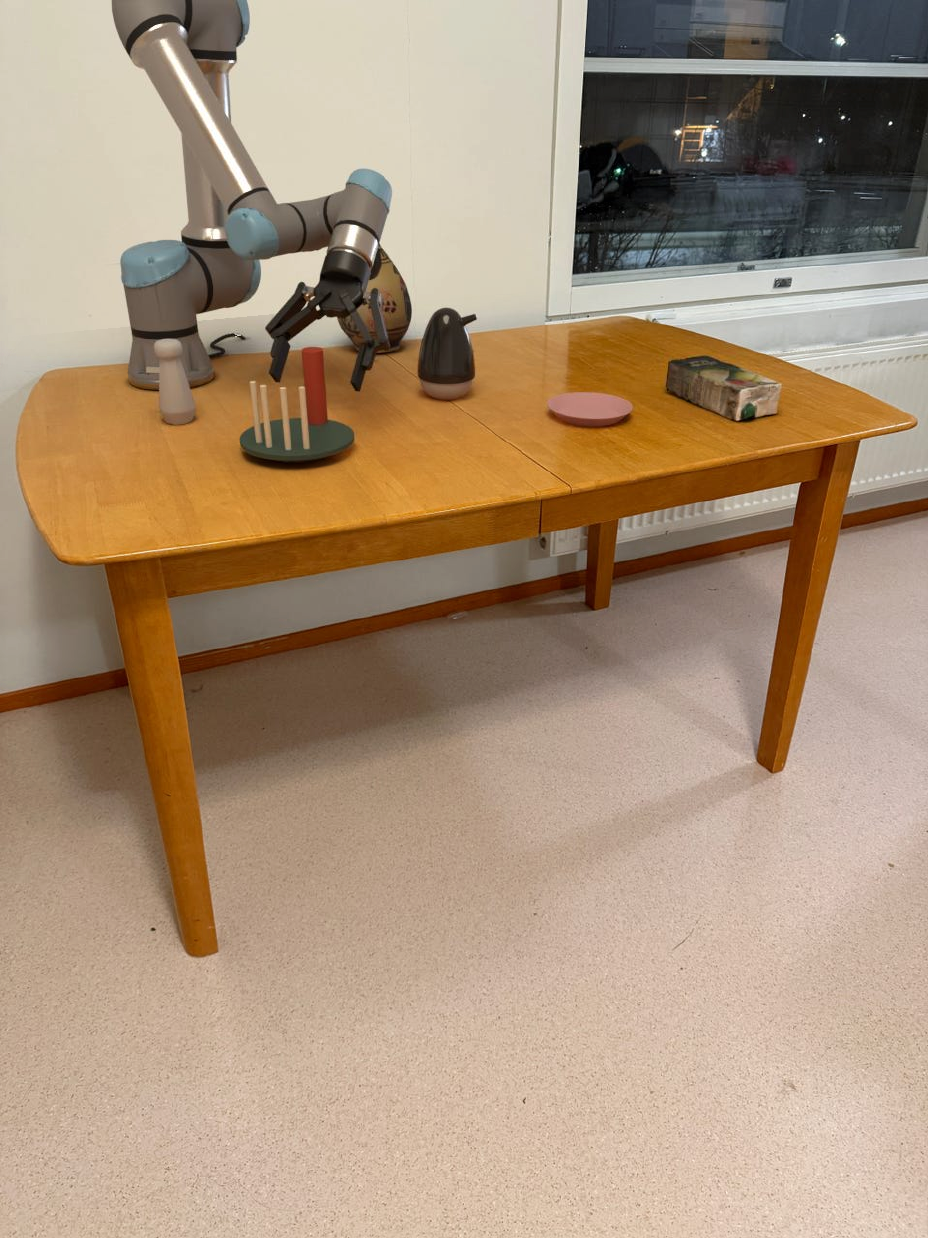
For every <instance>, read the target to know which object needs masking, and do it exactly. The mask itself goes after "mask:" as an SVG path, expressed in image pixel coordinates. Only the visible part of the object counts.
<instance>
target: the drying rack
mask: <svg viewBox="0 0 928 1238" xmlns="http://www.w3.org/2000/svg"><path fill="white" fill-rule="evenodd" d="M324 358H325V357H324V348H322V347H319V346H307V347H303V348H301V361H302V374H303V375H302V376H303V385H304V386H303V385H302V386H298V399H299V411H300V417H290V416H289V404H288V393H287V387H285V386H281V387H279V398H280V407H281V418H280V419H274V420H270V419H271V418H270V407H269V400H268V391H267V390H268V388H267V384H260V385H259V391H260V401H261V402H260V403H261V410H262V411H261V412H262V421H263V422H262V423H261V416H260V407H259V406H260V405H259V397H258V388H257V387H258V386H257V381H255V380H251V381H249V389H250V390H249V391H250V399H251V408H252V409H251V410H252V416H253V426H250V427H249V428H247V429H245V430H244V431H243V432H242V433H241V434H240V436H239V445H240V448H241V450H243V451H244V452H245V453H247V454H249V455H251V456H253V457H256V458H259V459H264V460H272V461H276V460H281V461H300V460H311V459H318V458H321V459H323V458H328V457H330V456H335V455H337V454H339V453H342V452H344V451H346V450H348V449H350V447H352V445H353V444H354V442H355V431H354V430H353V429H352V428H351V427H350V426H348V425H347V424H345V423H342V422H340V421H336V420H332V419H328V418H329V417H328V405H327V404H328V403H327V390H326V389H327V388H326V374H325V359H324ZM289 417H290V418H289ZM318 460H319V459H318ZM281 461H280V462H281Z"/></svg>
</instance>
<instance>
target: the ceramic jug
mask: <svg viewBox="0 0 928 1238" xmlns="http://www.w3.org/2000/svg"><path fill="white" fill-rule="evenodd" d="M373 288H377V289H378V291H379V293H380V295H381V297H382V299H383V302H382V308H381V311H382V315H383V319H384V323H385V327H386V331H387V336H388V340H389V344H390V349H389V350H388V351H384V350H380V351H378V352H377V353H376V354H380V353H389V352H390V353H391V352H396V351H398V350H400V348H401V341H402V340H403V338H404V337H405V336H406V334H407V332H408V331H409V328H410V325H411V321H412V316H413V308H412V307H413V306H412V301H411V296H410V294H409V290H408V287H407V284H406V282H405V280H404V278H403V276H402V275H401V273H400V271H399V270H398V267H397V265H396V264H394V262H393V261H392V259H391V257H390V255H388V253H387V252H386V251H385V250H384V249H383V247H382V245H381V244H380V242H379V245H378V249H377V252H376V256H375V260H374V263H373V267H372V269H371V274H370V278H369V282H368V285H367V289H366V291H365V292H371V290H372V289H373ZM357 311H358V313H359V315H360V317H361V319H362V320H363V322H364V324H365V326H366V327H367V329H368V331H369V333H370V334H371V336H372V338H373V339H378V337H377V332H376V328H375V324H374V320H373V316H372V312H371V307H370V306H369V305H368V303H367V301H365V302H364V303H363V304H362V305H361V306H360V307H359V308H358V309H357ZM336 319H337V322H338V324H339V326H340V329H341V330H342V331H343V333H344V334H345V335H346V336H347V337H348V338H349V340H350V341H351V342H352V345H353V346H354V348H355V350H356V352H357V351H358V352H359V348H360V345H361V344H364V345H366V346H367V344H366V342H365V340H364V338H363V337H362V335H361V333H360V331H359V329H358V328H357V326H356V324H355V322H354V321H353V319H352V317H351V315H350V316H348V317H345V319H341V318H338V317H336Z"/></svg>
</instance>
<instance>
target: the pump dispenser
mask: <svg viewBox="0 0 928 1238" xmlns="http://www.w3.org/2000/svg"><path fill="white" fill-rule="evenodd" d="M477 319H478V315H477V314H476V313H473V314H469V315H465V316H461V315H460V313H459V312H458V311H457V310H455V309H454V308H451V307H441V308H438V309H437V310H436V311H434V312H433V313H432V315H431V317H430V318H429V321H428V323H427V324H426V327H425V330H424V334H423V336H422V338H421V343H420V347H419V352H418V360H417V372H416V373H417V377H418V379H419V382H420V385H421V388H422V389H423V390H424V391H423V392H425V393H426V394H427V395H428V396H430V397H432V398H434V399H437V400H443V401H450V400H456V399H459V398H461V397H463V396H465V395H466V394H467V393H468V392H469V390H470V389H471V387H472V385H473V382H474V379H475V378H476V364H475V355H474V349H473V344H472V341H471V336H470V333H469V330H468V328H467V326H466V325H468V324H471V323H473V322H475V321H477Z"/></svg>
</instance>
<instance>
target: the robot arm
mask: <svg viewBox="0 0 928 1238" xmlns="http://www.w3.org/2000/svg"><path fill="white" fill-rule="evenodd" d="M111 12H112V18H113V23H114V26H115V30H116V32H117V35H118V38H119V40H120V43H121V44H122V47H123V48H124V50H125V51H126V53H127V56H128V57H129V59H130V60H131V62H132V63H133V65H134V66H135V67H137V68H138V69H142V70H144V71H145V73H146V75H147V77H148V78H149V80H150V81H151V84H152V85H153V87H154V88H155V91H156V92H157V95H159V97H160V99H161V101H162V103H163V104H164V106H165V107H166V109H167V111H168V112H169V114H170V116H171V118H172V119H173V122H174V123H175V125H176V126H177V128H178V130H179V132H180V135H181V145H182V146H181V147H182V157H183V158H182V159H183V170H184V183H185V184H184V185H185V195H186V207H187V218H188V219H187V220H188V221H187V223H186V225H185V226H184V227H182V229H181V230H180V236H181V237H180V238H181V240H177V239H158V240H155V241H146V242H142V243H138V244H136V245H135V244H134V245H133V246H130V247H129V248H127V249H125V250H124V251H123V252H122V254H121V255H120V259H119V260H120V261H119V263H120V272H121V275H120V280H121V283H122V284H123V291H124V296H125V302H126V307H127V315H128V320H129V326H130V332H131V339H132V341H131V348H130V355H129V361H128V367H127V376H128V382H129V384H130V385H131V386H134V387H136V388H139V389H143V390H151V391H159V366H160V357H157V356H156V355H155V351H154V344H155V342H156V341H158V340H161V339H176V340H178V341H180V342H181V345H182V349H183V353H182V355H180V359H181V362H182V366H183V369H184V372H185V375H186V378H187V381H188V384H189V387H190V388H194V387H198V386H202V385H205V384H207V383H209V382H211V381H212V380H214V378H215V370H214V365H213V362H212V360H211V359H214V358H219V357H221V356H223V355H225V354H226V352H227V350H226V349H225V348H224V347H222V346H218V345H217V344H218V343H220V342H222V341H224V340H226V339H229V338H230V339H231V338H238V339H240V340H241V341H245V340H246V337H245V336H244V335H242V334H241V336H237V335H235V334H234V333H235V332H231V334H230V333H227V334H224V335H221V336H219V337H216V338H215V339H214V340H212V341H211V342H210V343H209V347H210V348H211V349H212V350H216V351H217V352H215V353H210V354H208V352H207V349H206V347H205V345H204V343H203V340H202V339H201V336H200V333H199V327H198V318H197V315H200V314H204V313H210V312H213V311H217V310H222V309H230V308H234V307H237V306H239V305H241V304H244V303H247V302H248V301H249V300H251V299H252V298H253V297H254V296H255V294H256V293H257V292H258V289H259V287H260V284H261V278H262V267H261V260H263V261H265V260H269V259H272V258H275V257H280V256H283V255H290V254H297V253H308V252H309V253H311V252H315V251H316V252H317V251H320V250H322V249H325V248H326V255H325V256H324V260H323V263H322V266H321V269H320V273H319V279H318V283H317V284H316V285H315V286H309V285H307V284H306V283H305V282H304V281H300V282H298V283H297V286H296V288H295V291H294V293H293V294H292V295H291V297H290V298H289V299H288V300H287V301H286V302H285V303H284V305H283V306H282V307H281V308H280V309H279V310H278V312H277V313H276V314H274V316H273V317H272V318H271V320H270V321H269V322H268V323H267V324H266V326H264V327H265V331H266V333H267V334H268V335H269V337H270V338H271V339H272V340H273V342H272V345H271V349H270V352H269V355H270V357H271V358H272V360H271V364H270V367H269V370H268V375H269V377H271V378H272V380H273V381H274V383H280V382H281V379H282V377H283V373H284V370H285V366H286V363H287V361H288V360H287V359H288V357H289V353H290V349H291V344H290V343H289V342H290V341H291V340H292V339H293V338H295V337H296V336H297V335H299V334H300V333H301V332H303V331H304V330H305V329H307V328H308V327H309V326H310V325H311V324H313V323H314V322H315V321H317V320H318V321H319V320H322V319H323V318H324V317H325V316H326V318H331V319H332V318H337V317H338V318H341V319H345V317H348V316H350V315H351V317H352V319H353V321H354V322H355V324H356V326H357V328H358V329H359V331H360V333H361V335H362V337H363V338H364V340H365V342H366V344H367V346H366V345H364V344H361V345H360V348H359V351H358V353H357V356H356V360H355V362H354V366H353V369H352V373H351V377H350V381H349V384H350V385H351V387H352V388H353V389H354V392H357V393H358V392H359V393H360V392H361V390H362V387H363V383H364V378H365V375H366V372H367V371H371V370H372V369H373V366H374V362H375V359H376V355H377V354H378V353H377V352H378V351H380V350H384V351H388V350H389V349H390V344H389V340H388V336H387V331H386V327H385V323H384V319H383V315H382V311H381V308H382V302H383V299H382V297H381V295H380V293H379V291H378V289H377V288H373V289H372V290H371V292H365V291H366V289H367V285H368V282H369V278H370V274H371V269H372V267H373V263H374V260H375V256H376V252H377V249H378V245H379V243H380V242H381V240H382V239H381V238H382V235H383V232H384V228H385V225H386V222H387V219H388V215H389V214H390V211H391V208H390V207H391V202H392V197H393V189H392V185H391V184H390V182H389V181H388V179H387V178H386V177H385V176H384V175H383V174H382V173H380V172H378V171H376V170H373V169H371V168H357V169H355V170H353V171H352V172H351V173H350V175H349V176H348V178H347V180H346V182H345V187H344V189H342V190H339V191H336V192H334V193H331V194H329V195H325V196H320V197H317V198H312V199H307V200H298V201H292V202H284V203H282V202H281V203H278V202H277V201H276V199H275V197H274V196H273V194H272V192H271V191H270V189H269V188H268V185H267V184H266V182H265V181H264V178H263V177H262V175H261V173H260V172H259V170H258V168H257V166H256V164H255V162H254V161H253V159H252V157H251V156H250V154H249V152H248V150H247V149H246V146H245V145H244V143H243V142H242V140H241V138H240V136H239V134H238V132H237V131H236V129H235V127H234V126H233V123H232V112H231V111H232V109H231V95H230V94H231V93H230V92H231V91H230V77H229V76H230V75H229V74H230V72H231V70H232V69H233V68H234V67H235V65H236V64H237V63H238V53H237V48H238V47H240V46H241V45H242V44H243V43H244V42H245V40H246V36H247V35H248V34H249V31H250V22H251V18H250V14H251V13H250V7H249V3H248V0H111ZM365 301H367V303H368V305H369V306H370V307H371V312H372V316H373V320H374V324H375V328H376V332H377V337H378V339H373V338H372V336H371V334H370V333H369V331H368V329H367V327H366V326H365V324H364V322H363V320H362V319H361V317H360V315H359V313H358V311H357V309H358V308H359V307H360V306H361V305H362V304H363V303H364V302H365ZM317 307H319V309H317ZM235 336H237V337H235Z"/></svg>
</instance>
